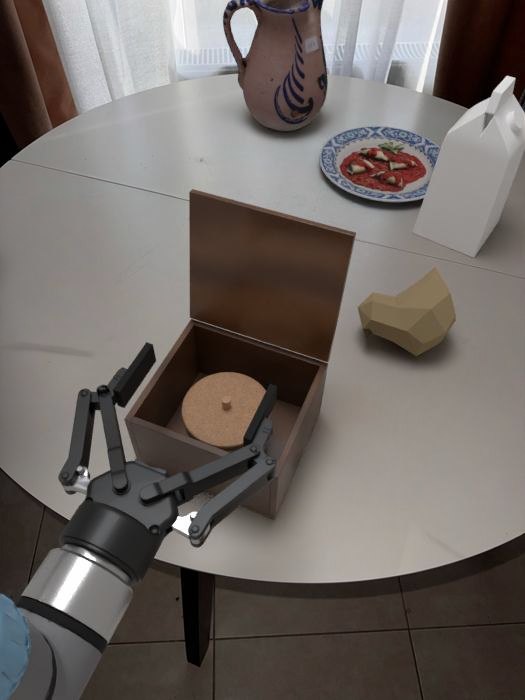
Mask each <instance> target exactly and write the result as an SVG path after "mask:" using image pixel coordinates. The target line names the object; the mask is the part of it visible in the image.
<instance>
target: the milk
mask: <svg viewBox="0 0 525 700" xmlns="http://www.w3.org/2000/svg"><path fill="white" fill-rule="evenodd" d="M515 84H516V77H513V76H510V75H506V76H505V77H504V78H503V80H502V81H500V83H499V84H497V86H496V87H495V88H494V89H493V91H492V93H491V95H490V97H488V98H486V99H483V100H482V101H479V102H478V103H476V104H475V105H473V106H472V107H470V108H469V109H467V110H466V111H465V112H464V113H463V115H462V116H461V117H460V118H459V119H458V120H457V121H456V122H455V123H454V124H453V126H452V127H451V128H450V129H449V130H448V131H447V132H446V135H445V137H444V138H443V140H442V143H441V146H440V148H441V149H440V152H439V155H438V158H437V161H436V164H435V167H434V170H433V173H432V176H431V179H430V182H429V185H428V188H427V191H426V194H425V197H424V198H423V200H422V202H421V203H422V204H421V206H420V209H419V211H418V214H417V218H416V221H415V224H414V227H413V230H412V234H415V235H416V236H419V237H421V238H424V239H426V240H428V241H431V242H433V243H435V244H439V245H441V246H443V247H445V248H448V249H451V250H453V251H456V252H458V253H461V254H463V255H465V256H467V257H471V258H472V259H475V258H476V256H477V255H478V253H479V252H480V250H481V249H482V247H483V246H484V244H485V243H486V241H487V240H488V239H489V237H490V235H491V234H492V233H493V231H494V229H495V228H496V227H497V225H498V223H499V222H500V219H501V216H502V214H503V210H504V208H505V205H506V203H507V200H508V197H509V194H510V191H511V188H512V187H513V186H512V185H513V183H514V181H515V178H516V174H517V172H518V169H519V166H520V163H521V161H522V158H523V155H524V152H525V111H524V109H523V107H522V106H521V104H520V103H519V101H518V99H517V98H516V96H515V95H514V89H515Z"/></svg>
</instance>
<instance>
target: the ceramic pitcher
mask: <svg viewBox="0 0 525 700" xmlns="http://www.w3.org/2000/svg"><path fill="white" fill-rule="evenodd" d="M323 4H324V0H230V1H228V2H227V4H226V6H225V8H224V11H223V15H222V28H223V32H224V36H225V39H226V42H227V44H228V47H229V50H230V52H231V54H232V57H233V58H234V61H235V63H236V66H237V83H238V85H239V87H240V89H241V90H242V95H243V99H244V102H245V105H246V107H247V109H248V111H249V113H250V115H251V116H252V117H253V118H254V120H256V121H257V122H258V123H259V124H261V126H264V127H265V128H268V129H270V130H275V131H279V132H280V131H281V132H292V131H298V130H299V129H301V128H303V127H305V126H307V125H308V124H309V123H311V122H312V121H313V120H314V119H315V118H316V117H317V116H318V114H319V113H320V112H321V110H322V108H323V107H324V104H325V101H326V97H327V94H328V84H329V83H328V68H327V59H326V53H325V46H324V39H323V33H322V32H323V31H322V10H323V9H322V8H323ZM245 8H248V10H251V11H252V12H253V14H254V16H255V19H256V21H257V25H256V28H255V30H254V33H253V38H252V41H251V44H250V47H249V50H248V52H247V54H246V56H245V57H243V54H242V52H241V50H240V48H239V46H238V44H237V42H236V40H235V37H234V34H233V32H232V25H231V23H232V22H231V20H232V18H233V16H234V14H235V13H236V12H237V11H239V10H241V9H245Z"/></svg>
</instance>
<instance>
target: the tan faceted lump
mask: <svg viewBox="0 0 525 700" xmlns="http://www.w3.org/2000/svg"><path fill="white" fill-rule="evenodd" d="M452 298H453V297H452V293H451V291H450V290H449V288H448V286H447V284H446V282H445V280H444V279H443V277H442V276H441V274H440V272H439V270H438V269H437V267H436V266H434V267H433V268H432V269H431V270H429V272H428V273H426V274H425V275H424V276H423V277H422V278H420V280H418V281H416V282H415V283H413V284H412V285H410V286H409V287H407V288H406V289H404V290H403V291H401V292H400V293H399V294H397V295H396V296H391V295H387V294H383V293H378V292H372V293H371V294H370V295H369V296H368V297H366V299H365V300H364V301H362V302H361V303H360V304H359V305H357V311H358V316H359V320H360V324H361V328H362V331H363V336H364V339H365V340H367V339H369V338H370V337H371V335H376V336H378V337H380V338H383V339H386V340H388V341H390V342H393V343H395V344H396V345H398V346H399V347H401V348H403V349H404V350H406V351H407V352H409V353H410V354H412V355H413V356H415V357H418V356H419V355H421V354H423V353H425V352H427V351H429V350H430V349H433V348H434V347H436V346H437V345H439V344H441V343H442V341H443V340H444V339H445V337H446V336H447V334H448V333H449V331H450V330H451V328H452V327H453V325H454V324H455V322H456V319H457V315H456V310H455V306H454V303H453V299H452Z"/></svg>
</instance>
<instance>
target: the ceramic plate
mask: <svg viewBox="0 0 525 700" xmlns="http://www.w3.org/2000/svg"><path fill="white" fill-rule="evenodd" d="M440 149H441V146H440V145H438V144H436V143H435V142H434V141H432V140H431V139H429V138H427V137H425V136H423V135H420V134H418V133H416V132H412V131H410V130H405V129H401V128H398V127H391V126H377V125H376V126H362V127H356V128H352V129H347V130H344V131H342V132H340V133H338V134H336V135H334V136H332V137H330V138H329V139H328V140H327V141H326V142H325V143H324V144H323V145H322V147H321V150H320V152H319V165H320V168H321V171H322V172H323V173H324V175H325V176H326V178H327V179H329V181H330V182H331V183H332V184H334V185H335V186H336V187H338V188H340V189H342V190H343V191H345V192H347V193H348V194H352V195H355V196H357V197H359V198H364V199H367V200H370V201H376V202H383V203H407V202H414V201H419V200H422V199H423V200H424V197H425V194H426V191H427V188H428V185H429V182H430V179H431V176H432V173H433V170H434V167H435V164H436V161H437V158H438V155H439V152H440Z"/></svg>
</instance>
